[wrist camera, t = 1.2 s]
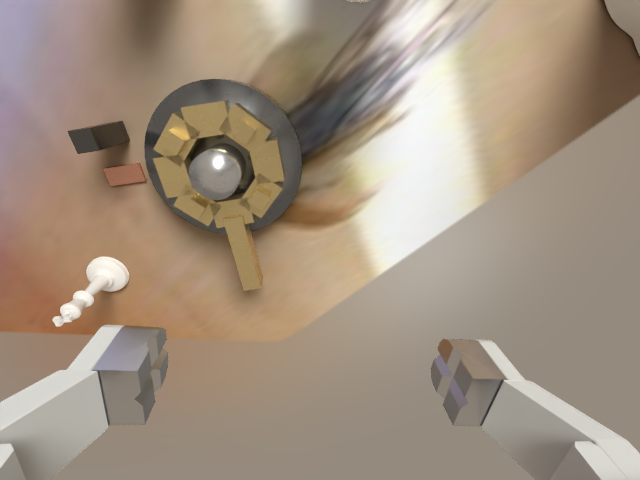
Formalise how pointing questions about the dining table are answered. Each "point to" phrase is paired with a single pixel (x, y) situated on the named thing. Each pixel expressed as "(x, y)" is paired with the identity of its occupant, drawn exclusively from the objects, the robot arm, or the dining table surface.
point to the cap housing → (207, 148)
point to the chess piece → (95, 286)
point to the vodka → (358, 1)
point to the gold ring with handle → (236, 208)
